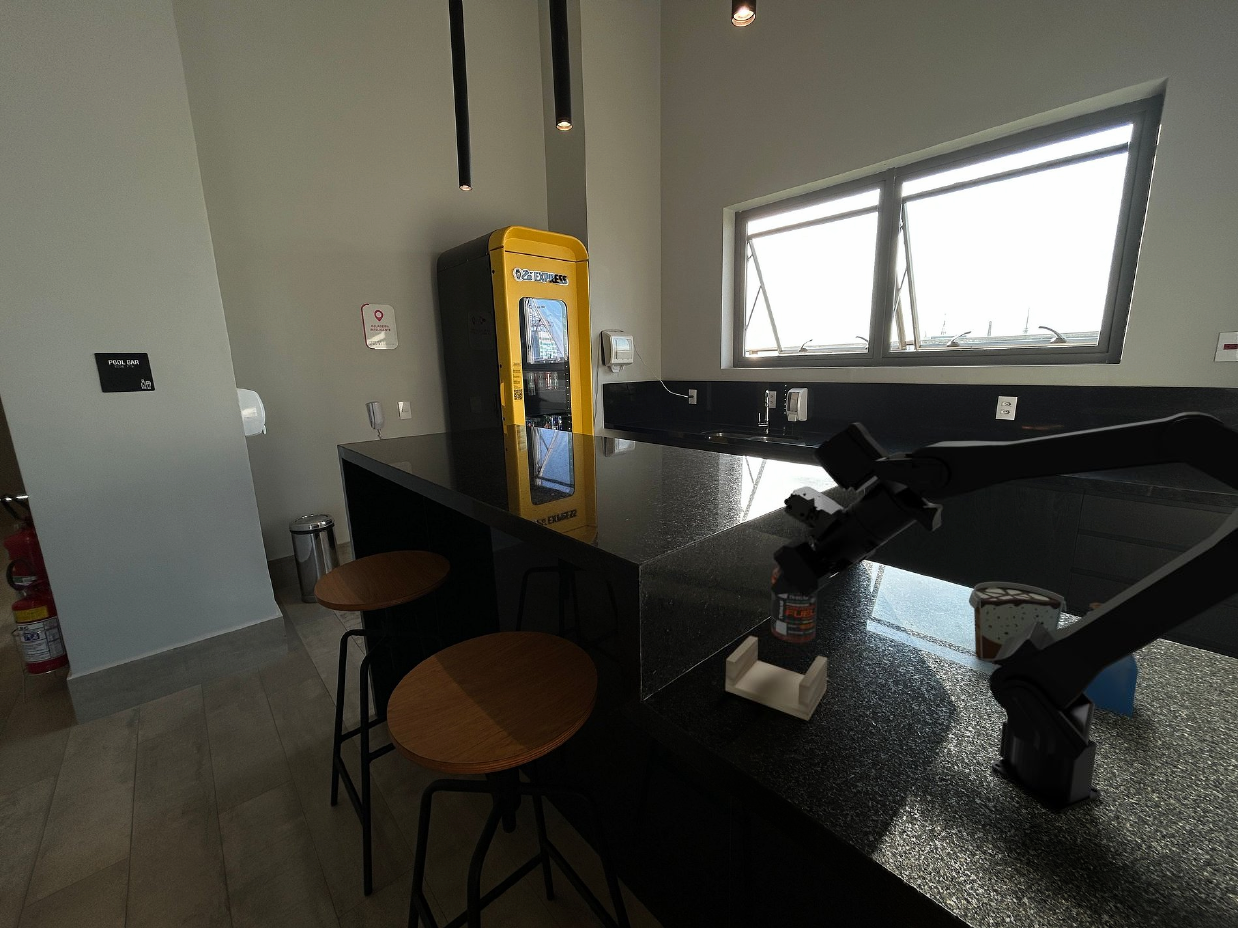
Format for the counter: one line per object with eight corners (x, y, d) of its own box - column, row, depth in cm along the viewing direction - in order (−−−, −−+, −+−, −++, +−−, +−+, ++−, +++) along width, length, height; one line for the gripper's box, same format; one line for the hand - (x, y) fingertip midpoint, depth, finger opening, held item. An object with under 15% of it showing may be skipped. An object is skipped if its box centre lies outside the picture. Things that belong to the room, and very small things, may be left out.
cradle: (826, 689, 69) (827, 658, 68) (808, 720, 63) (809, 686, 62) (749, 664, 76) (749, 635, 75) (725, 690, 69) (725, 659, 69)
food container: (1031, 641, 80) (1037, 580, 79) (1060, 662, 74) (1068, 597, 73) (948, 639, 81) (952, 579, 80) (970, 659, 75) (975, 595, 74)
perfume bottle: (1062, 676, 71) (1072, 594, 69) (1125, 692, 67) (1137, 606, 65) (1064, 697, 66) (1074, 610, 64) (1131, 716, 62) (1144, 624, 60)
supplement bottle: (785, 647, 68) (786, 565, 66) (762, 627, 73) (763, 551, 72) (825, 641, 69) (827, 560, 67) (799, 621, 75) (801, 547, 73)
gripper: (855, 460, 71) (781, 524, 81) (790, 480, 58) (711, 553, 68) (915, 525, 67) (829, 584, 76) (858, 561, 54) (763, 627, 63)
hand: (784, 584), depth 71 cm, fingers closed on supplement bottle, 6 cm apart
